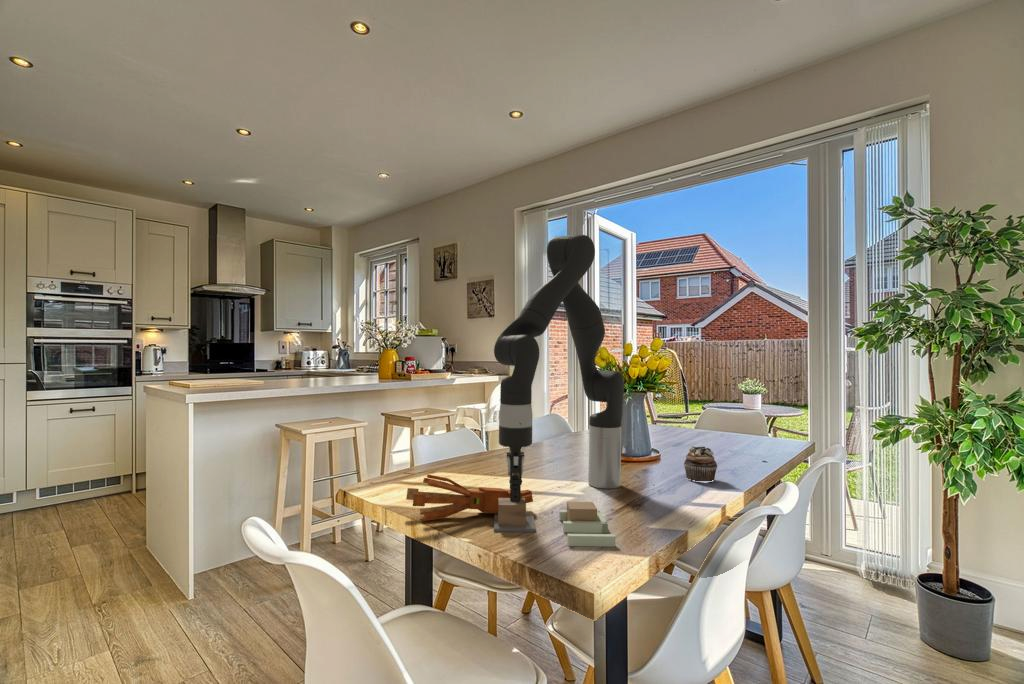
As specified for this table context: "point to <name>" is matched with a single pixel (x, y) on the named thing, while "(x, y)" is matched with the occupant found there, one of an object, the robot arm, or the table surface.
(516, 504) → the block
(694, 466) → the cupcake
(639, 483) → the table surface
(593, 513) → the rack
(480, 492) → the toy
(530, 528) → the pad
